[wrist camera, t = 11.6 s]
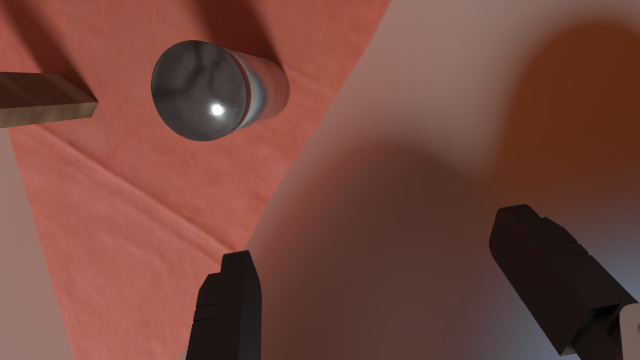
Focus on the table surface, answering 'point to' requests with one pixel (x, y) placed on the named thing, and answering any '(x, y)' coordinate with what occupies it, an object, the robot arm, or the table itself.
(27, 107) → the walnut shelf
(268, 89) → the salt shaker
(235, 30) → the table surface
